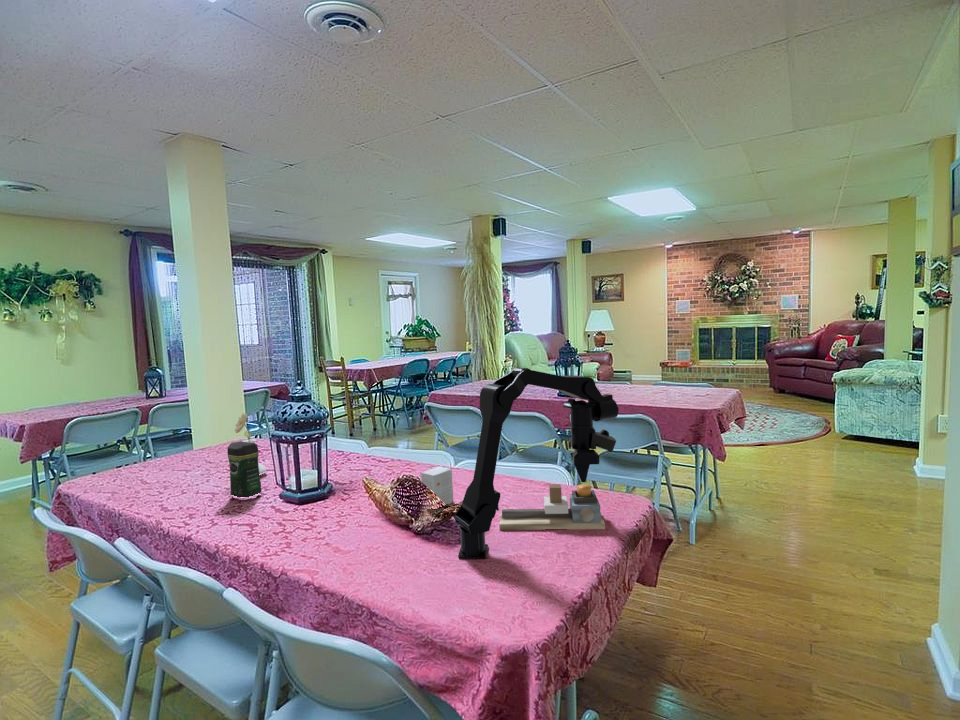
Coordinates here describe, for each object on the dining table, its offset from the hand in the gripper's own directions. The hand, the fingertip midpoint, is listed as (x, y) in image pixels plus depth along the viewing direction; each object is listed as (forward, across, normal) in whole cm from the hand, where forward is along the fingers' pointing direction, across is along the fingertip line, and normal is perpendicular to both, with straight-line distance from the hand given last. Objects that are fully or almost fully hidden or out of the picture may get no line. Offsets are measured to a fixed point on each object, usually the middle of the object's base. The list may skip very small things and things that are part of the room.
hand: (583, 481), depth 132 cm
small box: (+11, +14, +42) cm, 46 cm away
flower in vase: (+11, +45, +119) cm, 128 cm away
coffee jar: (+11, +23, +108) cm, 111 cm away
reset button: (+4, 0, 0) cm, 4 cm away
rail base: (+11, 0, +9) cm, 14 cm away
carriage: (+7, 0, +8) cm, 10 cm away
